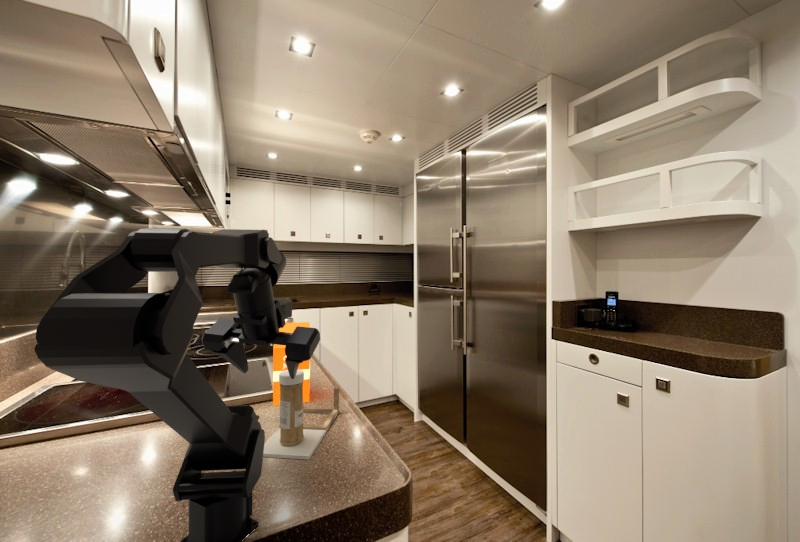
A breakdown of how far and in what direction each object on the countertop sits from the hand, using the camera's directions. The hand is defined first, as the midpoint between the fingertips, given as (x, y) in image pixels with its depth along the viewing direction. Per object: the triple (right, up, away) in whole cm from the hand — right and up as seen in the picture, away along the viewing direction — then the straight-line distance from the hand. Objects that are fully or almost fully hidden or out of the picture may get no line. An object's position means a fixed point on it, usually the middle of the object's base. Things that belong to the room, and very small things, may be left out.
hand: (269, 374), depth 60 cm
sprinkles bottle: (+3, -14, +3) cm, 15 cm away
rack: (+4, -15, +13) cm, 20 cm away
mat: (+3, -15, +3) cm, 15 cm away
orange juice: (-4, -15, +26) cm, 30 cm away
